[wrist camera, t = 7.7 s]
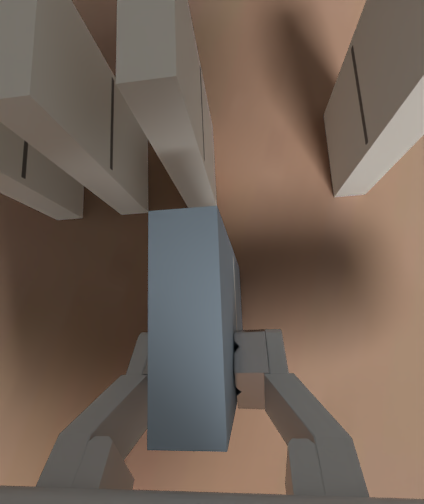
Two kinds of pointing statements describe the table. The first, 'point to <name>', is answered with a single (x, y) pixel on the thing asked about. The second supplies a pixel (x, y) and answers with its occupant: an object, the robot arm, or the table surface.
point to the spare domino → (191, 330)
